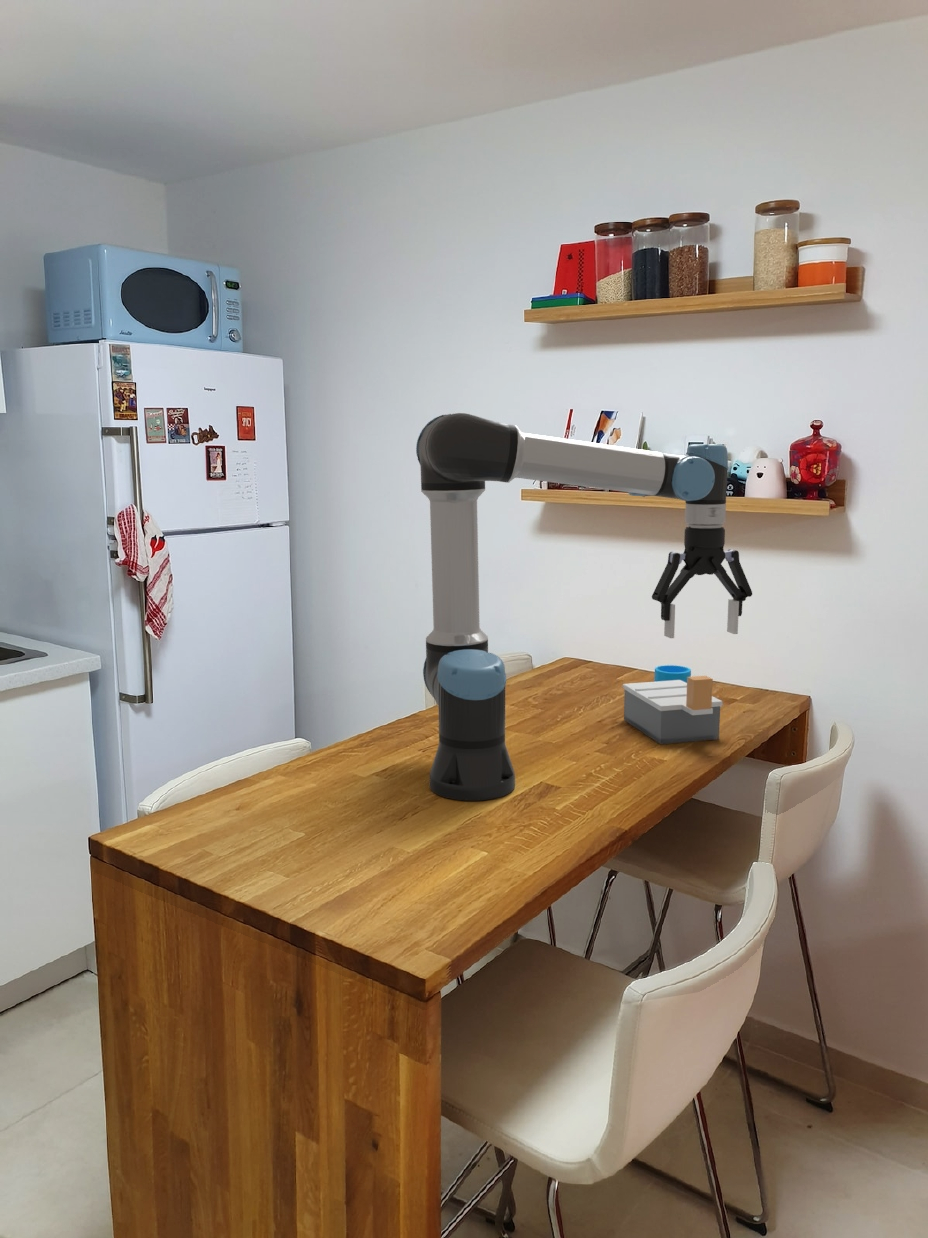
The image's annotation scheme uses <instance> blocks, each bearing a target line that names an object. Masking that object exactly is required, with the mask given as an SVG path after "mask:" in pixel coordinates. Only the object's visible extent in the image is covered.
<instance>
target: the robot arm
mask: <svg viewBox="0 0 928 1238" xmlns="http://www.w3.org/2000/svg"><path fill="white" fill-rule="evenodd" d="M415 449H416V457H417V461H418V463H419V465H420V484H421V485H420V486H421V487H420V488H421V492H422V494H423V495H424V496H425V497H426V498H427V499H428V501H429V514H430V519H429V520H430V549H431V551H430V552H431V554H430V555H431V581H432V585H431V586H432V589H431V590H432V616H433V617H432V619H433V621H432V622H433V630H432V631H431V632H430V633H429V634H428V635H427V636H426V637H425V655H426V656H425V660H424V663H423V669H422V675H423V681H424V685H425V687H426V689H427V691H428V693H429V694H430V695H431V696H432V698H433V699H434V701H435V703H436V704H437V707H438V746H437V749H436V753H435V756H434V759H433V762H432V765H431V769H430V770H429V771H430V772H429V788H430V790H431V791H432V792H433V793H434V794H436V795H437V796H440V797H443V798H446V799H451V800H454V801H467V802H469V801H470V802H471V801H472V802H473V801H476V802H478V801H488V800H494V799H498V798H501V797H504V796H506V795H508V794H510V793H512V792H513V790H515V787H516V773H515V770H514V767H513V764H512V761H511V760H512V759H511V757H510V755H509V752H508V749H507V745H506V684H507V674H506V668H505V663H504V661H503V660H502V658H501V657H500V656H498V655H497V654H495V653H492V652H489V636H488V635H487V634H486V633H485V632H483V630H481V628H480V626H481V625H480V588H479V587H480V582H479V577H480V576H479V543H478V542H479V541H478V540H479V532H478V530H479V529H478V528H479V527H478V499H479V497H481V496H482V494H483V493H484V492H485V491H486V482H501V483H510V482H512V481H513V480H514V479H524V480H532V481H540V482H547V483H555V484H562V485H571V486H577V487H585V488H586V487H587V488H594V489H602V490H607V491H609V490H610V491H617V492H625V493H627V494H628V495H630V496H631V497H643V498H645V497H661V498H667V499H675V500H676V499H677V500H682V501H685V502H684V503H685V506H684V507H685V510H684V511H685V512H684V523H685V524H686V525H687V526H686V527H685V528H684V536H683V537H684V539H683V540H684V541H683V545H684V551H683V552H682V553H680V552H674V551H670V552H669V553H668V556H667V564H666V566H665V567H664V570H663V572H662V574H661V576H660V578H659V580H658V582H657V585H656V587H655V589H654V591H653V593H652V595H651V599H652V600H654V601H656V602H659V603H660V618H661V620H662V621H664V629H663V630H664V635H663V636H664V637H666V638H669V639H675V624H676V622H675V621H676V620H675V619H676V604H674V603H672V602H673V601H674V600H675V599H676V598H677V596H678V595H679V593H680V592H682V590H683V588H684V587H685V586H686V585H687V583H688V582H689V581H690V579H692V578H693V577H695V575H696V576H703V575H714V576H715V577H716V578H717V579H718V580H719V582H720V583H721V584H722V586H723V587H724V588H725V589H726V591H727V592H728V593H729V595H730V596H731V599H730V598H728V601H727V603H728V604H727V621H726V622H727V623H726V624H727V626H726V627H727V629H726V631H727V633H729V634H733V635H738V633H739V632H738V631H739V630H738V629H739V617H742V615H743V602H744V601H746V600H747V598H748V597H749V598H750V597H752V596H753V590H752V589H751V586H750V584H749V582H748V579H747V577H746V574H745V571H744V569H743V567H742V564H741V562H740V553H739V551H738V550H735V549H729V548H728V550H726V551H725V550H724V547H725V543H726V542H725V541H726V539H725V538H726V529H725V527H723V525H725V524H726V513H727V512H726V510H727V509H726V507H727V489H728V488H727V487H728V486H727V485H728V471H729V459H728V458H729V456H728V448H727V447H726V445H724V444H721V443H720V444H717V443H713V444H710V443H708V444H702V443H701V444H688V446H687V449H686V453H685V454H680V455H679V454H674V453H666V452H665V453H664V452H660V451H654V450H653V451H652V450H648V449H647V450H646V449H640V448H639V449H638V448H631V447H625V446H619V445H618V446H617V445H611V444H605V443H598V442H592V441H591V442H590V441H584V440H579V439H578V440H576V439H570V438H563V437H562V438H561V437H556V436H548V435H541V434H535V433H529V432H522V431H521V429H520V428H519V427H518V425H515V424H508V423H502V422H498V421H494V420H490V419H487V418H483V417H481V416H477V415H474V414H470V413H463V412H458V413H447V414H441V415H438V416H436V417H434V418H433V419H431V420H430V421H428V422H427V424H425V426H424V427H423V428H422V429H421V431H420V433H419V436H418V438H417V442H416V448H415ZM724 560H725V561H726V562H727V565H728V566H729V567H728V568H729V569H730V571H731V574H732V575H733V578H734V581H735V582H734V581H733V579H732V578H731V576H729V574H728V573H727V570H726V569H725V567H724V566H723V565H722V563H723V562H724ZM682 562H684V566H682V568H681V569H680V572H679V574H678V576H677V577H676V578H675V579H674V577H675V575H676V573H677V571H678V569H679V567H680V565H681V564H682ZM673 579H674V580H673Z"/></svg>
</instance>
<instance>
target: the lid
mask: <svg viewBox="0 0 928 1238" xmlns="http://www.w3.org/2000/svg"><path fill="white" fill-rule="evenodd" d="M713 682H714V681H713V678H711V676H710V677H709V676H707V675H695V676H691V677H687V683H685V682H683V681H681V680H671V681H657V682H654V681H644V682H643V681H642V682H630V683H623V684H622V689H623V690H624V691H625V690H626V691H628V692H630V693H631V694H633V695H635V696H636V697H638V698H640V699H641V700H643V701H645V702H646V703H648V704H650V705H651V706H653V707H655V708H656V709H658V710H660V711H668V710H681V709H682V710H684V711H685V712H687V713H689V714H691V715H703V714H713V709H712V708H711V707H718V706H720V707H723V700H721V699H719V698H717V697H715V696H713Z"/></svg>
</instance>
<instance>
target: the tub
mask: <svg viewBox="0 0 928 1238" xmlns="http://www.w3.org/2000/svg"><path fill="white" fill-rule="evenodd" d="M623 702H624V703H623V720H624V722H627V723H628V724H629V725H631V726H632V727H634V728H635V729H637V730H639V732H641V733H642V734H645V736H647V737H649V738H651V740H653V741H655V742H656V743H658V744H659V745H666V744H667V745H668V744H678V743H679V744H680V743H689V742H690V743H691V742H701V741H711V740H712V741H713V740H719V739H720V723H721V706H718V707H711V708H712V709H713V714H703V715H691V714H689V713H687V712H685V711H684V710H682V709H681V710H668V711H660V710H658V709H656V708H655V707H653V706H651V705H650V704H648V703H646V702H645V701H643V700H641V699H640V698H638V697H636V696H635V695H633V694H631V693H630V692H628V691H626V690H625V689H624V697H623Z"/></svg>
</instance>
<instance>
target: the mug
mask: <svg viewBox="0 0 928 1238" xmlns="http://www.w3.org/2000/svg"><path fill="white" fill-rule="evenodd" d="M687 677H692V669H691V668H689V667H687V666H683V665H674V664H670V665H669V664H667V665H658V666H655V668H654V679H653V682H657V681H671V680H681V681H683V682H685V683H687Z"/></svg>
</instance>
